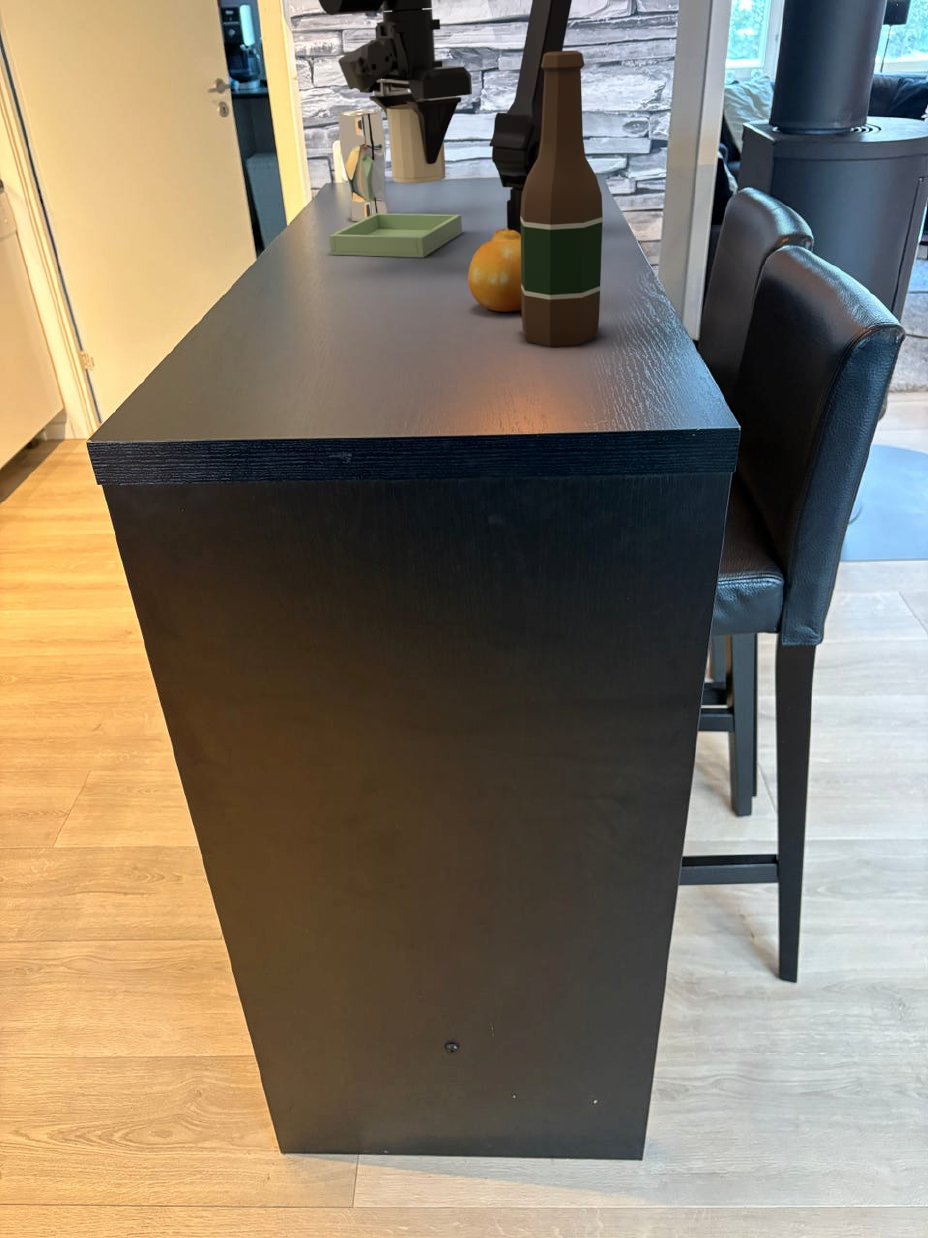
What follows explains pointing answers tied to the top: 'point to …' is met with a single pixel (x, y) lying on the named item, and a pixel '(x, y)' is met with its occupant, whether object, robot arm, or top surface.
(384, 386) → the top surface
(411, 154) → the cup
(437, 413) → the top surface
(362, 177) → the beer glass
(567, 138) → the beer bottle
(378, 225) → the tray
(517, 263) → the fruit
